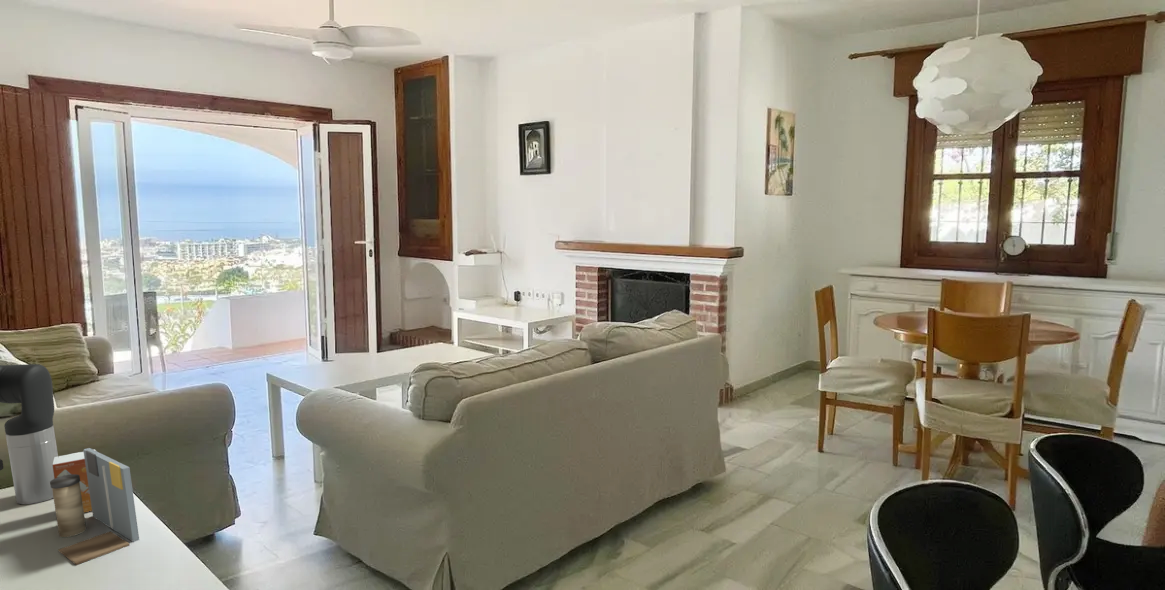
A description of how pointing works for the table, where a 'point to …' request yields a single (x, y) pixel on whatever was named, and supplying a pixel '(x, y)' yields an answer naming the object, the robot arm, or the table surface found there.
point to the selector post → (68, 505)
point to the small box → (74, 466)
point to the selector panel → (111, 493)
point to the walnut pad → (93, 547)
